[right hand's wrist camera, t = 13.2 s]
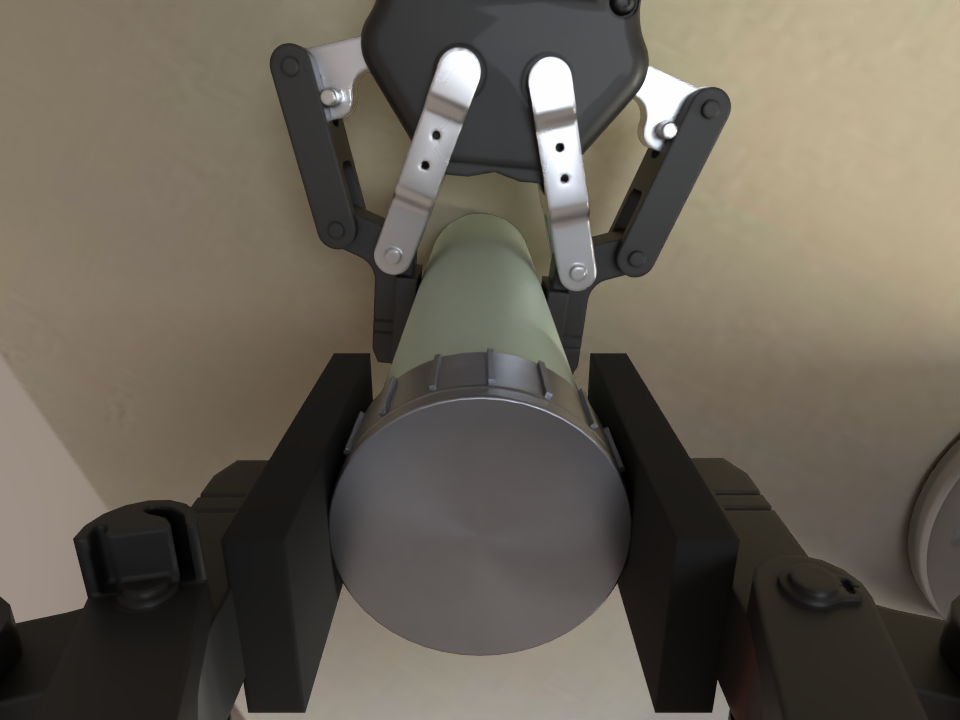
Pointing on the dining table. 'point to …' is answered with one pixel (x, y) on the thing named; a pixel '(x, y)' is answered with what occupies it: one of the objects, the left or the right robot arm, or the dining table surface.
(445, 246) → the pale green bottle
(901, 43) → the dining table surface
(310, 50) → the left robot arm
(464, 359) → the lid
